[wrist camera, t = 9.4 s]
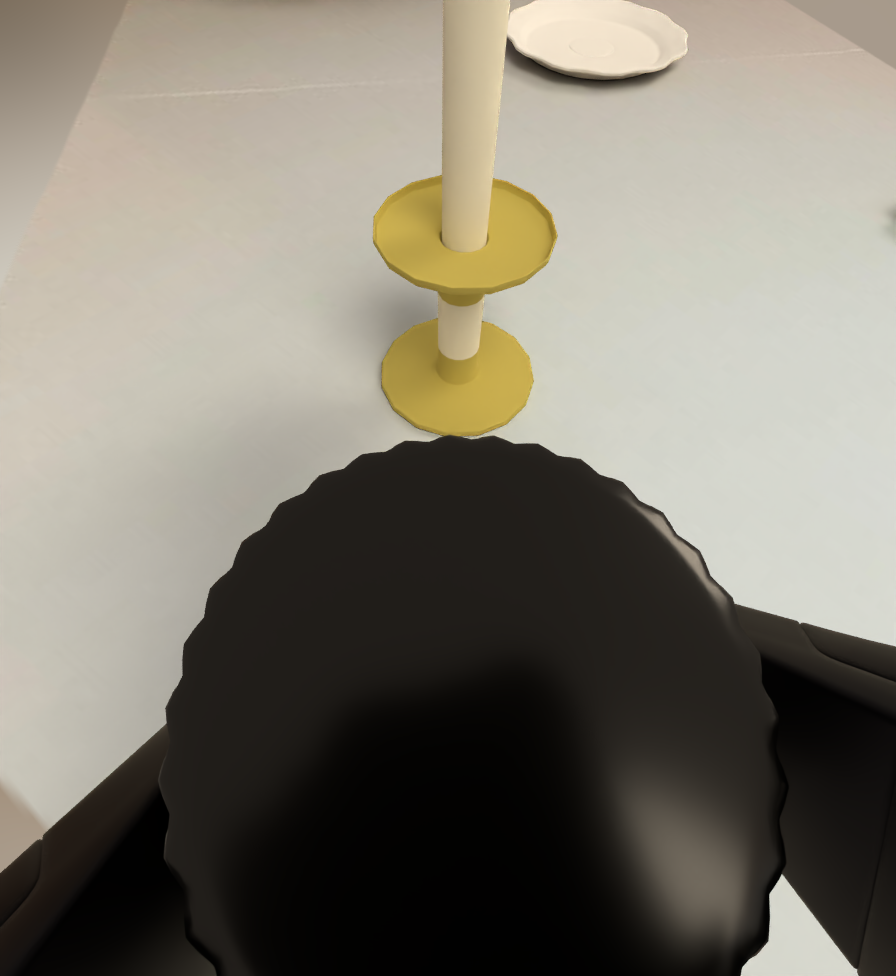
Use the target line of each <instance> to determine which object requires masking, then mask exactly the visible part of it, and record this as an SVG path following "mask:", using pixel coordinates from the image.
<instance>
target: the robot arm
mask: <svg viewBox="0 0 896 976" xmlns="http://www.w3.org/2000/svg"><path fill="white" fill-rule="evenodd" d="M735 608H736V611H737V616H738V621H739V626H740V627H741V628H742V629H743V631H744V632H745V633H746V635H747V636H748V637H749V638H750V640H751V641H752V643H753V644H754V646H755V647H756V648H757V650H758V651H759V653H760V659H761V668H762V684H763V687H764V689H765V691H766V693H767V695H768V696H769V698H770V699H771V700H772V703H773V705H774V707H775V709H776V711H777V713H778V715H779V730H778V738H777V744H776V750H777V754H778V757H779V760H780V762H781V764H782V766H783V769H784V772H785V775H786V779H787V782H788V785H789V789H788V793H787V798H786V802H785V805H784V808H783V811H782V813H781V816H780V819H779V821H780V828H781V834H782V837H783V840H784V846H785V853H786V861H787V864H786V866H785V868H784V870H783V872H782V874H783V876H784V877H785V878H786V880H787V881H788V882H789V884H790V885H791V886H792V888H793V889H794V890H795V892H796V893H797V894H798V896H799V897H800V898H801V899H802V901H803V902H804V903H805V905H806V906H807V907H808V909H809V910H810V911H811V913H812V914H813V915H814V917H815V918H816V919H817V920H818V922H819V923H820V924H821V926H822V927H823V928H824V930H825V931H826V932H827V934H828V935H829V936H830V938H831V939H832V940H833V942H834V943H835V944H836V945H837V947H838V948H839V949H840V951H841V952H842V953H843V955H844V956H845V957H846V959H847V960H848V961H849V963H850V964H851V965H852V966H853V967H854V968H855V969H857V973H858V975H859V976H896V647H895V646H891V645H887V644H883V643H878V642H874V641H870V640H866V639H862V638H858V637H855V636H851V635H847V634H843V633H839V632H836V631H832V630H828V629H824V628H821V627H817V626H814V625H810V624H806V623H801V624H799V622H798V621H795V620H792V619H788V618H784V617H781V616H777V615H773V614H770V613H766V612H763V611H759V610H755V609H752V608H748V607H744V606H741V605H737V604H735ZM169 744H170V738H169V733H168V728H167V724H166V725H165V726H163V727H162V728H161V729H160V730H159V731H158V732H157V733H156V734H155V735H153V736H152V737H151V738H150V739H149V740H148V741H147V742H146V743H145V744H143V745H142V746H141V747H140V748H139V749H138V750H137V751H136V752H135V753H133V754H132V755H131V756H130V757H129V758H128V759H127V760H126V761H125V762H123V763H122V764H121V765H120V766H119V767H118V768H117V769H116V770H115V771H113V772H112V773H111V774H110V775H109V776H108V777H107V778H106V779H105V780H103V781H102V782H101V783H100V784H99V785H98V786H97V787H96V788H95V789H93V790H92V791H91V792H90V793H89V794H88V795H87V796H86V797H85V798H83V799H82V800H81V801H80V802H79V803H78V804H77V805H76V806H75V807H73V808H72V809H71V810H70V811H69V812H68V813H67V814H66V815H65V816H63V817H62V818H61V819H60V820H59V821H58V822H57V823H56V824H55V825H53V826H52V827H51V828H50V829H49V830H48V831H47V832H46V833H45V834H44V835H43V839H42V840H40V839H39V840H37V841H36V842H34V843H33V844H32V845H31V846H30V847H29V848H28V849H27V850H26V851H24V852H23V853H22V854H21V855H20V856H19V857H18V858H17V859H16V860H15V861H14V862H12V863H11V864H10V865H9V866H8V867H7V868H6V869H4V870H3V871H2V872H1V873H0V976H217V975H216V971H215V968H214V965H213V964H211V963H210V962H209V961H208V960H207V959H206V958H204V957H203V956H202V955H201V954H200V953H199V952H198V951H197V950H196V949H195V948H194V947H193V946H192V945H191V944H190V943H189V941H188V940H187V939H186V938H185V926H184V895H183V889H182V887H181V886H180V885H179V883H178V882H177V880H176V879H175V877H174V876H173V875H172V873H171V871H170V869H169V867H168V866H167V864H166V862H165V860H164V848H165V838H166V834H167V830H168V825H169V816H170V814H169V811H168V809H167V806H166V804H165V802H164V799H163V797H162V793H161V790H160V786H159V783H158V778H159V774H160V770H161V767H162V763H163V760H164V758H165V756H166V754H167V751H168V748H169Z"/></svg>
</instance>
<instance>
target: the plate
mask: <svg viewBox="0 0 896 976" xmlns="http://www.w3.org/2000/svg"><path fill="white" fill-rule="evenodd" d="M687 37H688V35H687V33H686V31H685V30H684V29H683V28H682V27H680V26H678V25H677V24H675V23H674V22H672V20H671V19H670V18H669V17H668V16H667V15H665V14H663V13H661V12H659V11H656V10H653V9H649V8H645V7H642V6H639V5H637V4H634V3H632V2H629V1H624V0H536V1H534V2H532V3H530V4H529V5H527V6H524V7H520V8H517V9H515V10H513V11H512V12H511V13H510V14H509V19H508V29H507V38H508V39H509V40H510V41H511V42H512V43H513V45H514V47H515V49H516V50H517V51H518V52H520V53H522V54H523V55H525V56H526V57H529V58H532V59H533V60H534V61H535V62H536V63H538V64H540V65H542V66H544V67H546V68H548V69H550V70H553V71H556V72H559V73H562V74H565V75H569V76H574V77H580V78H585V79H599V80H610V79H624V78H629V77H634V76H639V75H641V74H643V73H650V72H655V71H658V70H661V69H664V68H666V67H667V66H668V65H669V64H670V63H671V62H673V61H675V60H678V59H680V58H683V57H684V56H685V54H686V53H687V51H688V47H687V44H686V40H687Z"/></svg>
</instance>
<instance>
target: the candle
mask: <svg viewBox="0 0 896 976" xmlns="http://www.w3.org/2000/svg"><path fill="white" fill-rule="evenodd" d="M509 9H510V0H443V91H442V175H440V176H436V177H432V178H428V179H424V180H420V181H416V182H412V183H410V184H409V185H407V186H405V187H404V188H402V189H400V190H399V191H397V192H395V193H393V194H392V195H390V196H388V197H387V199H386V200H385V202H384V203H383V204H382V206H381V207H380V209H379V210H378V211H377V213H376V214H375V216H374V224H373V243H374V245H375V247H376V248H377V250H378V252H379V253H380V255H381V256H382V258H383V259H384V261H385V263H386V264H387V266H388V267H389V269H391V270H392V271H394V272H395V273H397V274H398V275H400V276H402V277H403V278H405V279H406V280H408V281H409V282H411V283H413V284H414V285H416V286H419V287H423V288H427V289H430V290H434V291H438V318H436V319H433V320H430V321H427V322H424V323H421V324H418V325H415V326H413V327H412V328H410V329H409V330H408V331H406V332H405V333H404V334H402V335H401V336H400V337H398V338H397V339H396V340H395V341H394V342H393V343H392V345H391V347H390V349H389V351H388V352H387V354H386V356H385V358H384V360H383V362H382V389H383V391H384V393H385V395H386V397H387V398H388V400H389V402H390V404H391V406H392V408H393V410H394V411H395V412H397V413H398V414H399V415H401V416H402V417H403V418H405V419H406V420H407V421H408V422H410V423H411V424H412V425H414V426H415V427H416V428H420V429H423V430H426V431H430V432H433V433H436V434H439V435H443V436H446V435H454V436H475V435H481V434H483V433H486V432H488V431H491V430H493V429H496V428H498V427H501V426H503V425H506V424H507V423H508V422H509V421H510V420H511V419H512V418H513V417H514V416H515V415H516V414H517V413H518V412H519V411H520V410H521V409H522V408H523V407H525V406H526V403H527V400H528V397H529V394H530V391H531V388H532V385H533V382H534V380H533V374H532V369H531V364H530V358H529V356H528V355H527V353H526V352H525V351H524V349H523V348H522V347H521V345H520V344H519V343H518V341H517V340H516V339H515V337H513V336H511V335H510V334H508V333H507V332H505V331H503V330H502V329H500V328H499V327H497V326H495V325H494V324H492V323H488V322H484V321H482V315H483V306H484V297H485V294H492V293H495V292H499V291H502V290H505V289H508V288H511V287H514V286H517V285H520V284H523V283H525V282H526V281H527V280H528V279H530V278H531V277H532V276H533V275H535V274H536V273H537V272H538V271H539V270H541V269H542V268H543V267H544V266H546V264H547V263H548V261H549V259H550V256H551V253H552V251H553V248H554V245H555V243H556V240H557V236H558V235H557V232H556V228H555V224H554V221H553V217H552V214H551V212H550V211H549V210H548V209H547V208H546V207H545V206H544V205H543V204H542V203H541V202H540V201H539V200H538V199H537V198H536V197H535V196H534V195H533V194H531V193H529V192H527V191H525V190H523V189H521V188H519V187H517V186H515V185H513V184H511V183H509V182H507V181H503V180H499V179H494V178H493V170H494V160H495V150H496V140H497V130H498V120H499V110H500V99H501V89H502V79H503V69H504V59H505V49H506V39H507V29H508V19H509Z"/></svg>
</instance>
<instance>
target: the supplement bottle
mask: <svg viewBox="0 0 896 976" xmlns="http://www.w3.org/2000/svg"><path fill="white" fill-rule="evenodd" d="M182 668H183V676H182V678H181V680H180V682H179V684H178V686H177V687H176V689H175V690H174V691H173V693H172V695H171V698H170V700H169V702H168V704H167V706H166V708H165V709H166V720H167V728H168V733H169V738H170V744H169V748H168V751H167V754H166V756H165V758H164V760H163V763H162V767H161V770H160V774H159V778H158V783H159V786H160V790H161V793H162V797H163V799H164V802H165V804H166V806H167V809H168V811H169V814H170V816H169V825H168V830H167V834H166V838H165V848H164V860H165V862H166V864H167V866H168V867H169V869H170V871H171V873H172V875H173V876H174V877H175V879H176V880H177V882H178V883H179V885H180V886H181V887H182V889H183V895H184V926H185V938H186V939H187V940H188V941H189V943H190V944H191V945H192V946H193V947H194V948H195V949H196V950H197V951H198V952H199V953H200V954H201V955H202V956H203V957H204V958H206V959H207V960H208V961H209V962H210V963H211V964H213V965H214V968H215V971H216V975H217V976H741V970H742V967H743V966H744V965H745V963H746V962H747V961H748V960H749V959H750V958H752V957H754V956H756V955H757V954H758V953H759V952H760V950H761V949H762V948H763V947H764V946H765V945H766V943H767V942H768V939H769V923H770V907H769V894H770V892H771V891H772V889H773V888H774V886H775V885H776V883H777V882H778V880H779V879H780V877H781V874H782V872H783V870H784V868H785V866H786V864H787V861H786V853H785V846H784V840H783V837H782V834H781V828H780V821H779V819H780V816H781V813H782V811H783V808H784V805H785V802H786V798H787V793H788V789H789V785H788V782H787V779H786V775H785V772H784V769H783V766H782V764H781V762H780V760H779V757H778V754H777V750H776V744H777V738H778V730H779V715H778V713H777V711H776V709H775V707H774V705H773V703H772V700H771V699H770V698H769V696H768V695H767V693H766V691H765V689H764V687H763V684H762V668H761V659H760V653H759V651H758V650H757V648H756V647H755V646H754V644H753V643H752V641H751V640H750V638H749V637H748V636H747V635H746V633H745V632H744V631H743V629H742V628H741V627H740V626H739V621H738V616H737V611H736V608H735V604H734V601H733V598H732V597H731V596H730V595H729V594H728V592H727V591H726V590H725V589H724V588H723V587H722V586H720V585H719V584H718V583H717V582H716V581H715V580H714V579H713V578H712V577H711V576H710V573H709V571H708V568H707V565H706V563H705V561H704V559H703V557H702V554H701V552H700V551H699V550H698V549H697V548H695V547H694V546H693V545H691V544H690V543H689V542H687V541H686V540H684V539H683V538H681V537H680V536H678V535H677V534H676V532H675V531H674V529H673V527H672V526H671V524H670V522H669V521H668V519H667V518H666V516H665V515H664V513H663V512H661V511H659V510H657V509H655V508H654V507H652V506H649V505H646V504H645V503H643V502H641V501H639V500H638V499H637V497H636V496H635V495H634V494H633V493H632V491H631V490H630V489H629V488H628V487H627V486H626V485H625V484H624V483H623V482H621V481H619V480H616V479H613V478H608V477H605V476H602V475H599V474H598V473H597V472H596V471H595V470H593V469H592V468H591V467H590V466H589V465H588V464H586V463H585V462H584V461H582V460H581V459H577V458H572V457H562V456H557V455H556V454H554V453H552V452H551V451H549V450H548V449H546V448H544V447H543V446H541V445H539V444H527V443H526V444H513V443H511V442H509V441H507V440H504V439H502V438H499V437H496V436H487V437H482V438H478V439H472V440H471V439H467V438H463V437H459V436H454V435H446V436H443V437H440V438H438V439H436V440H433V441H430V442H421V441H404V442H402V443H400V444H398V445H396V446H394V447H393V448H392V449H390V450H388V451H386V452H377V453H368V454H362V455H360V456H359V457H358V458H356V459H355V460H353V461H352V462H351V463H350V464H349V465H348V466H347V467H345V468H344V469H341V470H337V471H332V472H329V473H326V474H322V475H319V476H318V477H317V478H316V479H315V480H314V481H313V482H312V483H311V485H310V487H309V488H308V489H307V490H306V491H305V492H304V493H303V494H300V495H298V496H295V497H293V498H290V499H288V500H286V501H284V502H282V503H280V504H279V505H278V507H277V508H276V509H275V511H274V512H273V514H272V516H271V518H270V520H269V522H268V523H267V524H266V526H265V527H263V528H262V529H261V530H259V531H257V532H255V533H253V534H252V535H251V536H249V537H248V538H247V539H245V540H244V541H243V542H242V543H241V545H240V548H239V550H238V552H237V554H236V557H235V560H234V563H233V566H232V568H231V569H230V570H229V571H228V572H227V573H226V574H225V575H223V576H222V577H221V578H220V579H219V580H218V581H217V582H216V583H215V584H214V585H213V586H212V587H211V588H210V591H209V594H208V598H207V602H206V608H205V614H204V618H203V619H202V620H201V621H200V623H199V624H198V625H197V626H196V628H195V629H194V630H193V631H192V633H191V634H190V636H189V637H188V639H187V640H186V642H185V643H184V648H183V659H182Z"/></svg>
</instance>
